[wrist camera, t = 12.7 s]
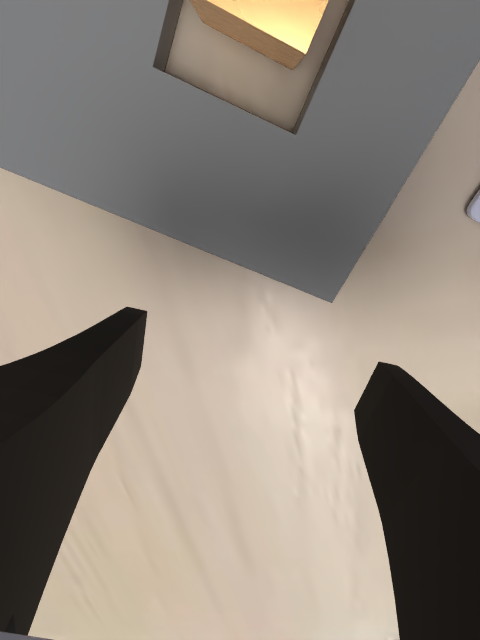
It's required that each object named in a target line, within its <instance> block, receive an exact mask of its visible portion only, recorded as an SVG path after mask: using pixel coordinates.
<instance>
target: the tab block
mask: <svg viewBox="0 0 480 640" xmlns="http://www.w3.org/2000/svg"><path fill="white" fill-rule="evenodd" d="M190 1H191V3H192V5H193V6H194V8H195V10H196V11H197V13H198V14H199V16H200V18H201V19H202V21H203V23H205V24H207V25H209V26H211V27H212V28H214V29H216V30H218V31H220V32H222V33H224V34H226V35H228V36H229V37H231V38H233V39H235V40H237V41H239V42H241V43H243V44H245V45H247V46H248V47H250V48H252V49H254V50H256V51H258V52H260V53H262V54H264V55H265V56H267V57H269V58H271V59H273V60H275V61H277V62H279V63H281V64H282V65H284V66H286V67H288V68H290V69H292V70H293V69H294V68H295V67H296V65H297V64H298V63H299V62H300V60H301V59H302V58H303V57H304V56H305V54H306V53H307V50H308V48H309V45H310V43H311V41H312V38H313V36H314V34H315V31H316V29H317V27H318V24H319V22H320V20H321V17H322V15H323V13H324V10H325V8H326V6H327V3H328V1H329V0H190Z"/></svg>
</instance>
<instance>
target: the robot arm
mask: <svg viewBox="0 0 480 640" xmlns="http://www.w3.org/2000/svg"><path fill="white" fill-rule="evenodd" d="M467 215H468V216H469V217H470V218H471V219H473V220H475V221H477V222H480V190H479V191H478V192H477V194H476V195H475V197H474V198H473V200H472V201H471V202H470V204H469V206H468V208H467ZM146 318H147V311H144V310H140V309H135V308H130V307H125V308H124V309H122V310H120V311H118V312H117V313H115V314H113V315H111V316H110V317H108V318H106V319H104V320H103V321H101V322H99V323H97V324H96V325H94V326H92V327H90V328H88V329H87V330H85V331H83V332H81V333H79V334H77V335H75V336H73V337H71V338H69V339H67V340H65V341H63V342H61V343H58V344H56V345H54V346H52V347H50V348H48V349H45V350H43V351H41V352H38V353H36V354H33V355H30V356H28V357H25V358H22V359H20V360H17V361H14V362H11V363H8V364H5V365H2V366H0V640H52V639H45V638H39V637H32V636H28V633H29V630H30V627H31V624H32V622H33V619H34V616H35V613H36V611H37V608H38V605H39V602H40V600H41V597H42V594H43V591H44V588H45V586H46V583H47V580H48V578H49V575H50V573H51V570H52V567H53V565H54V562H55V559H56V557H57V554H58V551H59V549H60V546H61V543H62V541H63V538H64V536H65V533H66V531H67V528H68V525H69V523H70V520H71V518H72V515H73V513H74V510H75V508H76V505H77V503H78V500H79V498H80V495H81V493H82V490H83V488H84V486H85V483H86V481H87V478H88V476H89V473H90V471H91V469H92V467H93V465H94V462H95V460H96V458H97V456H98V454H99V452H100V450H101V449H102V447H103V445H104V443H105V441H106V439H107V437H108V436H109V434H110V432H111V430H112V428H113V426H114V424H115V422H116V421H117V419H118V417H119V415H120V413H121V411H122V409H123V407H124V405H125V404H126V402H127V400H128V398H129V396H130V394H131V391H132V389H133V386H134V384H135V381H136V378H137V375H138V373H139V370H140V367H141V361H142V353H143V344H144V336H145V327H146ZM354 413H355V421H356V429H357V435H358V441H359V444H360V448H361V451H362V455H363V458H364V462H365V465H366V469H367V472H368V476H369V479H370V482H371V486H372V489H373V492H374V496H375V499H376V502H377V506H378V509H379V513H380V517H381V521H382V526H383V531H384V536H385V542H386V547H387V552H388V558H389V564H390V570H391V577H392V583H393V590H394V596H395V604H396V612H397V620H398V628H399V636H400V640H480V434H479V433H477V432H476V431H475V430H474V429H472V428H471V427H470V426H469V425H467V424H466V423H465V422H464V421H463V420H461V419H460V418H459V417H458V416H457V415H456V414H454V413H453V412H452V411H451V410H450V409H449V408H447V407H446V406H445V405H444V404H443V403H442V402H441V401H439V400H438V399H437V398H436V397H435V396H434V395H433V394H431V393H430V392H429V391H428V390H427V389H426V388H425V387H424V386H422V385H421V384H420V383H419V382H418V381H417V380H415V379H414V378H413V377H412V376H411V375H409V374H408V373H407V372H406V371H404V370H403V369H402V368H400V367H399V366H397V365H392V364H388V363H383V362H378V364H377V366H376V368H375V370H374V372H373V374H372V376H371V378H370V380H369V382H368V384H367V386H366V388H365V390H364V392H363V394H362V396H361V398H360V400H359V402H358V404H357V406H356V408H355V410H354Z"/></svg>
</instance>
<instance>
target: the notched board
mask: <svg viewBox="0 0 480 640" xmlns="http://www.w3.org/2000/svg"><path fill="white" fill-rule="evenodd" d="M182 2H183V0H0V168H3V169H5V170H8V171H10V172H13V173H15V174H18V175H20V176H22V177H25V178H27V179H30V180H32V181H35V182H37V183H40V184H42V185H44V186H47V187H49V188H52V189H54V190H57V191H59V192H62V193H64V194H66V195H69V196H71V197H74V198H76V199H79V200H81V201H84V202H86V203H88V204H91V205H93V206H96V207H98V208H101V209H103V210H106V211H108V212H111V213H113V214H115V215H118V216H120V217H123V218H125V219H128V220H130V221H133V222H135V223H137V224H140V225H142V226H145V227H147V228H150V229H152V230H155V231H157V232H159V233H162V234H164V235H167V236H169V237H172V238H174V239H177V240H179V241H181V242H184V243H186V244H189V245H191V246H194V247H196V248H199V249H201V250H203V251H206V252H208V253H211V254H213V255H216V256H218V257H221V258H223V259H225V260H228V261H230V262H233V263H235V264H238V265H240V266H243V267H245V268H248V269H250V270H252V271H255V272H257V273H260V274H262V275H265V276H267V277H270V278H272V279H274V280H277V281H279V282H282V283H284V284H287V285H289V286H292V287H294V288H296V289H299V290H301V291H304V292H306V293H309V294H311V295H314V296H316V297H318V298H321V299H323V300H326V301H328V302H331V303H332V302H333V300H334V299H335V297H336V295H337V294H338V292H339V290H340V289H341V287H342V285H343V284H344V282H345V281H346V279H347V277H348V276H349V274H350V272H351V271H352V269H353V267H354V266H355V264H356V262H357V261H358V259H359V257H360V256H361V254H362V253H363V251H364V249H365V248H366V246H367V244H368V243H369V241H370V239H371V238H372V236H373V234H374V233H375V231H376V229H377V228H378V226H379V225H380V223H381V221H382V220H383V218H384V216H385V215H386V213H387V211H388V210H389V208H390V206H391V205H392V203H393V202H394V200H395V198H396V197H397V195H398V193H399V192H400V190H401V188H402V187H403V185H404V183H405V182H406V180H407V178H408V177H409V175H410V174H411V172H412V170H413V169H414V167H415V165H416V164H417V162H418V160H419V159H420V157H421V155H422V154H423V152H424V150H425V149H426V147H427V146H428V144H429V142H430V141H431V139H432V137H433V136H434V134H435V132H436V131H437V129H438V127H439V126H440V124H441V122H442V121H443V119H444V118H445V116H446V114H447V113H448V111H449V109H450V108H451V106H452V104H453V103H454V101H455V99H456V98H457V96H458V94H459V93H460V91H461V90H462V88H463V86H464V85H465V83H466V81H467V80H468V78H469V76H470V75H471V73H472V71H473V70H474V68H475V66H476V65H477V63H478V62H479V60H480V0H350V1H349V3H348V5H347V8H346V10H345V12H344V14H343V17H342V19H341V21H340V24H339V26H338V28H337V31H336V33H335V35H334V37H333V40H332V42H331V44H330V47H329V49H328V51H327V54H326V56H325V58H324V60H323V63H322V65H321V67H320V70H319V72H318V74H317V77H316V79H315V81H314V83H313V86H312V88H311V90H310V93H309V95H308V97H307V100H306V102H305V104H304V107H303V109H302V111H301V113H300V116H299V118H298V120H297V123H296V125H295V127H294V130H293V132H292V133H291V132H289V131H287V130H285V129H283V128H281V127H279V126H277V125H275V124H273V123H270V122H268V121H266V120H264V119H262V118H260V117H258V116H256V115H254V114H252V113H250V112H247V111H245V110H243V109H241V108H239V107H237V106H235V105H233V104H231V103H229V102H227V101H224V100H222V99H220V98H218V97H216V96H214V95H212V94H210V93H208V92H206V91H203V90H201V89H199V88H197V87H195V86H193V85H191V84H189V83H187V82H185V81H183V80H180V79H178V78H176V77H174V76H172V75H170V74H168V73H166V72H164V71H165V67H166V64H167V60H168V56H169V52H170V48H171V44H172V41H173V37H174V33H175V29H176V25H177V21H178V18H179V14H180V10H181V6H182Z"/></svg>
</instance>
